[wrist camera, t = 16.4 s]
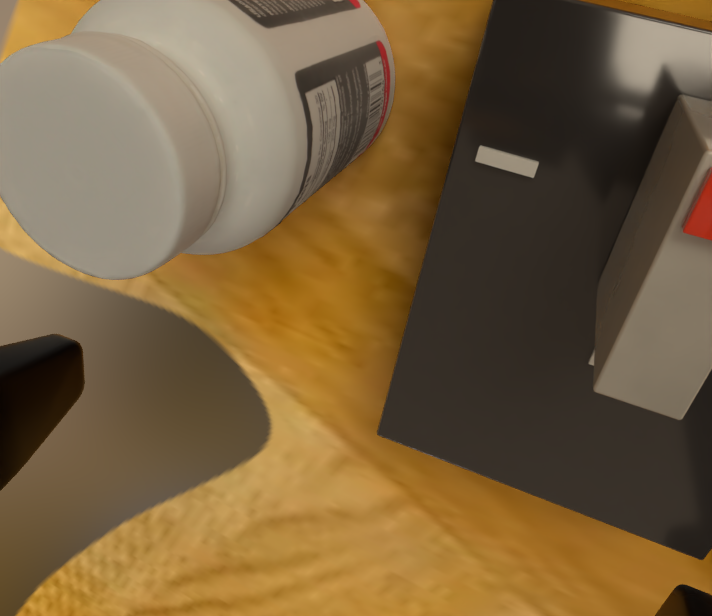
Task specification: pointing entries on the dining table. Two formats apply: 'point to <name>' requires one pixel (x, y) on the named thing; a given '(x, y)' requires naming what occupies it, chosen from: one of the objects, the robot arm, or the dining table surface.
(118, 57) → the pill bottle
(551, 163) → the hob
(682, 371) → the grey box red label
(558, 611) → the dining table surface
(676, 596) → the robot arm
